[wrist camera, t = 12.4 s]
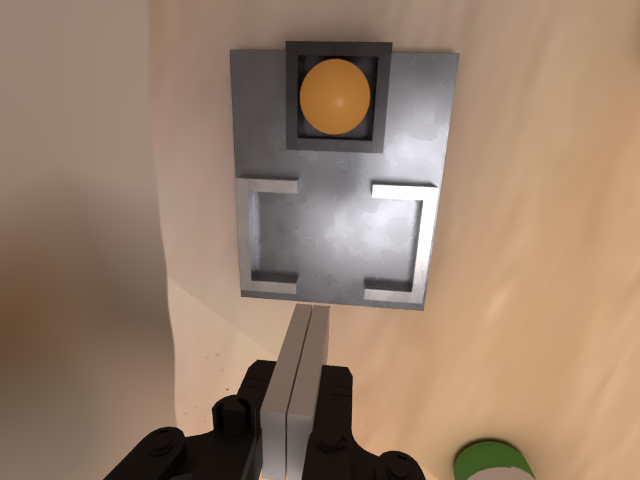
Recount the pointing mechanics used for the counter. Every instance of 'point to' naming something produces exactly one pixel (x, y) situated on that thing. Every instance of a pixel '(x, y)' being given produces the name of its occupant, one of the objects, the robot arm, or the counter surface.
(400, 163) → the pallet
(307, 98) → the button
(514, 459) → the wine bottle
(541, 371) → the counter surface
